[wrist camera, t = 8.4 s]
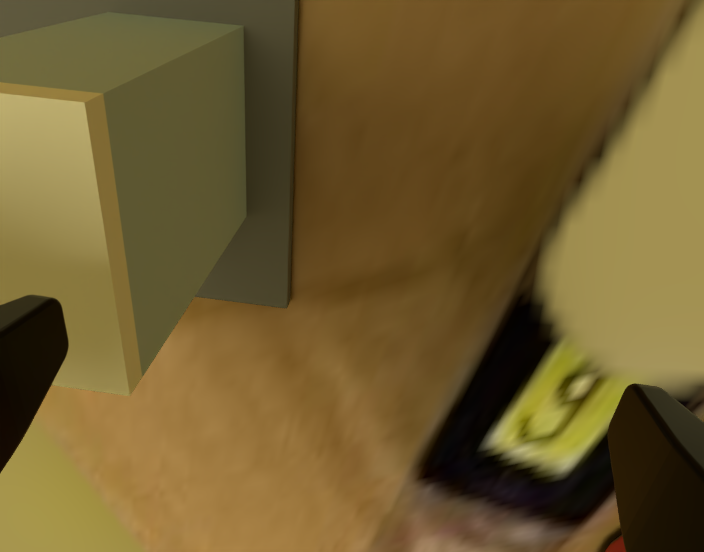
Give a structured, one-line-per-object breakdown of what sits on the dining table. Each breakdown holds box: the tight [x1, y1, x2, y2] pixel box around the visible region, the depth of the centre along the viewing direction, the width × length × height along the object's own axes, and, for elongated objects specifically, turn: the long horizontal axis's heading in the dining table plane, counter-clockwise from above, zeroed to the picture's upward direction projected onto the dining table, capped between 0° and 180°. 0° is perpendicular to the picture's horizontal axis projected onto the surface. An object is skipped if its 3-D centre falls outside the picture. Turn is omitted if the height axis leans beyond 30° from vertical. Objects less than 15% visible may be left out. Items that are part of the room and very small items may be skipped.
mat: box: [0, 0, 299, 308], centre depth 19 cm, size 16×13×1 cm
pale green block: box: [0, 12, 247, 396], centre depth 14 cm, size 4×6×9 cm, turn 176°
